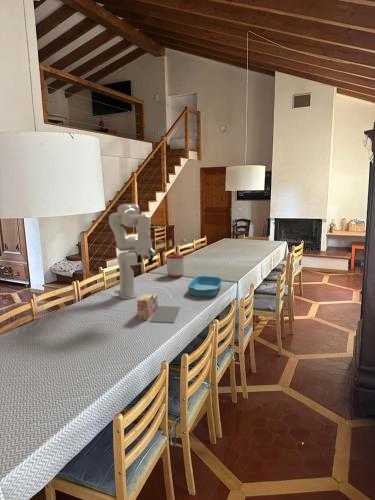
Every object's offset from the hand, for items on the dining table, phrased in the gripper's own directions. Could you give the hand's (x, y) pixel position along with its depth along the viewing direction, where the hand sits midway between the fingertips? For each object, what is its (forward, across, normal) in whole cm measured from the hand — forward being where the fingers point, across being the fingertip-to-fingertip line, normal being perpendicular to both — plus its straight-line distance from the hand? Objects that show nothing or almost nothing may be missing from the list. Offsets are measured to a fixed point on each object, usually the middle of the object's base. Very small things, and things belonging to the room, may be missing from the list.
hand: (145, 263), depth 220 cm
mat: (+30, +14, +3) cm, 33 cm away
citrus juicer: (+29, -43, +74) cm, 90 cm away
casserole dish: (+30, +2, +57) cm, 65 cm away
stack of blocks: (+30, +4, -3) cm, 31 cm away
